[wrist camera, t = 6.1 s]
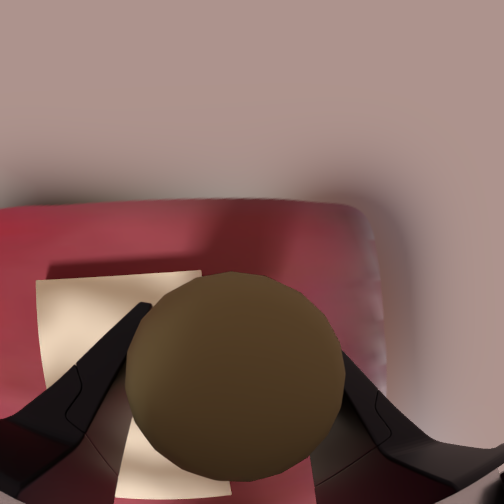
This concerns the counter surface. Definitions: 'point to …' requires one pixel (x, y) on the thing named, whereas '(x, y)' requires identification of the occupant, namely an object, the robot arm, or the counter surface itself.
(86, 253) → the counter surface
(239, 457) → the cork
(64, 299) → the birch board
